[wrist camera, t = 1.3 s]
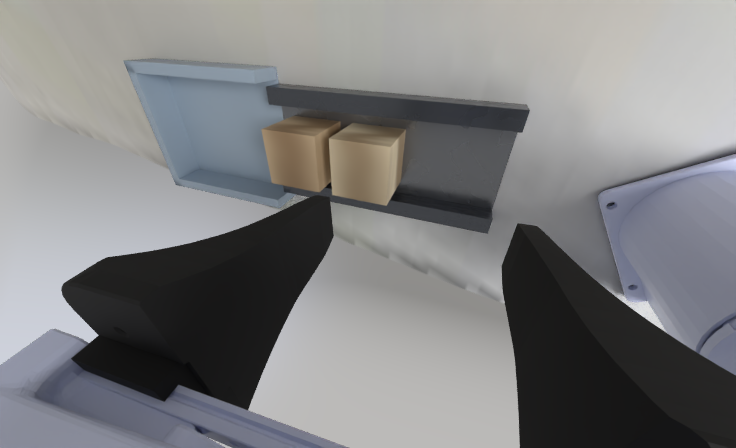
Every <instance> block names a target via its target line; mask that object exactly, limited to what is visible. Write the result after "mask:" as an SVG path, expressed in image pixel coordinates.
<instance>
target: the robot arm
mask: <svg viewBox="0 0 736 448" xmlns="http://www.w3.org/2000/svg"><path fill="white" fill-rule="evenodd" d="M598 202H599V205H600V209H601V212H602V216H603V220H604V223H605V227H606V230H607V234H608V237H609V241H610V245H611V248H612V252H613V255H614V259H615V263H616V266H617V270H618V273H619V277H620V281H621V284H622V288H623V291H624V295H625V297H626V299H627V300H629V301H631V302H642V301H648V303H649V304H650V306H651V308H652V309H653V311H654V312H655V314H656V316H657V317H658V319H659V320H660V322H661V324H662V325H663V327H664V329H665V330H666V332H667V333H668V334H667V333H666V332H664V331H663V330H661V329H660V328H658V327H657V326H655V325H654V324H652V323H651V322H649V321H648V320H646V319H645V318H644V317H642V316H641V315H640V314H638V313H637V312H635V311H634V310H633V309H631V308H630V307H629V306H627V305H626V304H625V303H623V302H622V301H620V300H619V299H618V298H617V297H615V296H614V295H613V294H611V293H610V292H609V291H608V290H606V289H605V288H604V287H603V286H602V285H600V284H599V283H598V282H597V281H596V280H595V279H593V278H592V277H591V276H590V275H589V274H588V273H586V272H585V271H584V270H583V269H582V268H581V267H580V266H579V265H577V264H576V263H575V262H574V261H573V260H572V259H571V258H570V257H569V256H568V255H567V254H566V253H565V252H564V251H563V250H562V249H561V248H560V247H558V246H557V245H556V244H555V243H554V242H553V241H552V240H551V239H550V238H549V237H548V236H547V235H546V234H545V233H544V232H543V231H542V230H541V229H540V228H538V227H537V226H532V225H525V224H517V227H516V229H515V232H514V235H513V237H512V240H511V243H510V245H509V248H508V251H507V253H506V256H505V259H504V261H503V264H502V286H503V295H504V300H505V306H506V311H507V316H508V322H509V327H510V332H511V337H512V343H513V348H514V356H515V365H516V377H517V392H518V410H519V434H520V448H736V154H733V155H730V156H726V157H723V158H719V159H715V160H712V161H708V162H705V163H701V164H698V165H694V166H690V167H687V168H683V169H680V170H676V171H672V172H669V173H665V174H662V175H658V176H655V177H651V178H647V179H644V180H640V181H637V182H633V183H630V184H626V185H622V186H619V187H615V188H612V189H608V190H605V191H603V192H601V193H600V194H599V196H598ZM611 202H615V204H614V205H613V206H610V207H607V206H606V205H607V204H608V203H611ZM333 236H334V235H333V226H332V216H331V206H330V197H327V196H320V195H315V196H312V197H310V198H307V199H305V200H303V201H301V202H299V203H297V204H294V205H292V206H290V207H288V208H286V209H284V210H282V211H280V212H278V213H276V214H273V215H271V216H269V217H266V218H264V219H262V220H260V221H257V222H255V223H253V224H250V225H248V226H245V227H242V228H240V229H237V230H234V231H231V232H228V233H225V234H222V235H219V236H215V237H211V238H208V239H204V240H200V241H197V242H193V243H189V244H184V245H180V246H175V247H170V248H165V249H160V250H154V251H149V252H142V253H135V254H129V255H122V256H115V257H107V258H105V259H103V260H101V261H99V262H97V263H96V264H94V265H92V266H91V267H89V268H87V269H86V270H84V271H83V272H81V273H79V274H78V275H76V276H75V277H73V278H72V279H70V280H68V281H67V282H65V283H64V284H63V286H62V295H63V297H64V298H65V300H66V301H67V303H68V304H69V305H70V306H71V307H72V308H73V310H74V311H75V312H76V313H77V314H78V315H80V317H82V319H83V320H84V321H85V322H86V323H87V324H88V325H89V326H90V327H91V328H92V329H93V330H94V331H95V332H96V333H97V334H98V335H99V336H98V337H96V338H95V339H94V340H93V341H92V342H90V343H87V342H86V341H84V340H83V339H80V338H79V337H76V336H73V335H70V334H68V333H65V332H62V331H59V330H56V329H51V330H49V331H48V332H46V333H45V334H43V335H42V336H41V337H39V338H38V339H36V340H35V341H34V342H32V343H31V344H30V345H28V346H27V347H25V348H24V349H22V350H21V351H20V352H18V353H17V354H15V355H14V356H13V357H11V358H10V359H8V360H7V361H6V362H4V363H3V364H1V365H0V448H225V447H223V446H221V445H220V444H218V443H216V442H214V441H213V440H215V441H218V442H220V443H223V444H225V445H227V446H230V447H232V448H348V447H345V446H342V445H340V444H337V443H335V442H332V441H329V440H326V439H324V438H321V437H318V436H316V435H313V434H310V433H308V432H305V431H302V430H299V429H297V428H294V427H291V426H289V425H286V424H283V423H280V422H277V421H275V420H272V419H270V418H267V417H264V416H261V415H259V414H256V413H253V412H250V411H248V408H249V406H250V403H251V400H252V398H253V395H254V393H255V390H256V388H257V385H258V382H259V380H260V378H261V375H262V372H263V370H264V368H265V366H266V363H267V361H268V358H269V356H270V354H271V351H272V349H273V347H274V345H275V343H276V341H277V338H278V336H279V334H280V332H281V330H282V328H283V325H284V324H285V322H286V320H287V318H288V316H289V313H290V311H291V309H292V308H293V306H294V304H295V302H296V300H297V299H298V297H299V295H300V294H301V292H302V290H303V289H304V287H305V286H306V284H307V283H308V281H309V280H310V278H311V277H312V275H313V273H314V272H315V270H316V269H317V267H318V265H319V264H320V262H321V261H322V259H323V258H324V256H325V254H326V252H327V250H328V248H329V246H330V243H331V241H332V238H333ZM630 285H634V286H630ZM207 437H208V438H207ZM209 438H211V439H213V440H211V439H209Z"/></svg>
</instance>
